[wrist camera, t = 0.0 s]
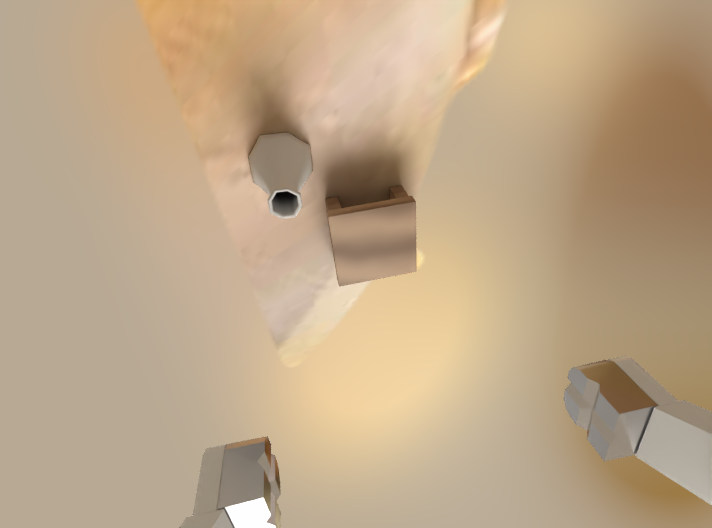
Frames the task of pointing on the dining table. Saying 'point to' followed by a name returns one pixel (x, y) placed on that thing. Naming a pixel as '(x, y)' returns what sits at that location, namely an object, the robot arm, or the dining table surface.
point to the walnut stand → (373, 238)
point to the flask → (281, 171)
